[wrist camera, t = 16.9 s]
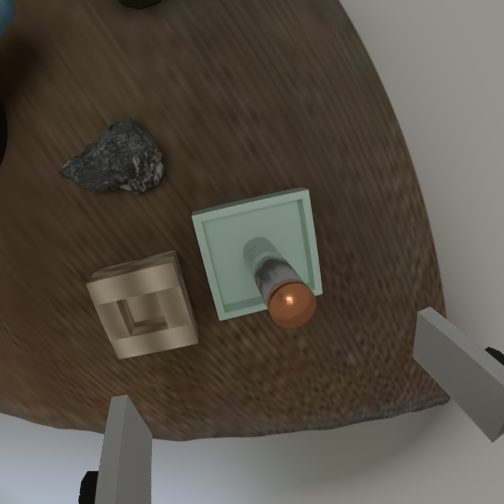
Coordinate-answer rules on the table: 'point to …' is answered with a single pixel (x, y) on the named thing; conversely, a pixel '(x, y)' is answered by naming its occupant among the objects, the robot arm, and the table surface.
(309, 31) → the table surface
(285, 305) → the pin
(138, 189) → the rock
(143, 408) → the table surface
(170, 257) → the block
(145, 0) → the beer bottle
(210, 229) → the tray
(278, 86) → the table surface
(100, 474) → the robot arm
